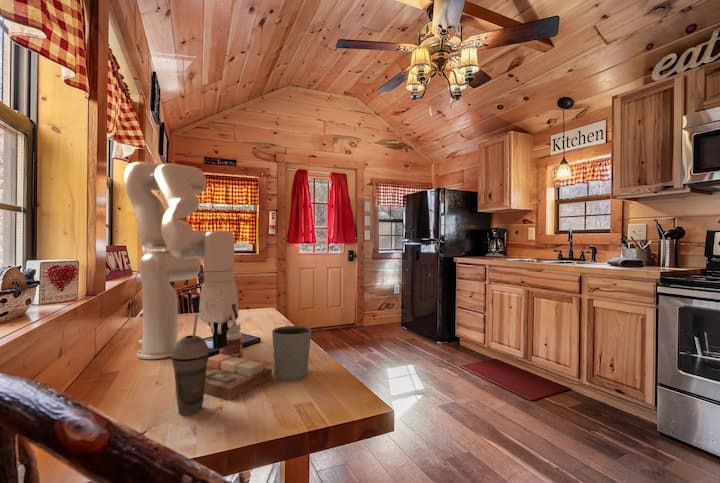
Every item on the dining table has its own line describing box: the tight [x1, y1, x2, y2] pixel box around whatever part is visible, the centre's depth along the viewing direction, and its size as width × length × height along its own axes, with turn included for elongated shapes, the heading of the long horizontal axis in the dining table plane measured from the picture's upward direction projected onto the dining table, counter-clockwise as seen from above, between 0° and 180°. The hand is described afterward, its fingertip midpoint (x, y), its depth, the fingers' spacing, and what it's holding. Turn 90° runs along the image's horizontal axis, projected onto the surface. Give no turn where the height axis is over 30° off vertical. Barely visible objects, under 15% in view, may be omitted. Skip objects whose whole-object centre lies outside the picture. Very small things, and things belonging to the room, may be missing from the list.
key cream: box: [221, 357, 248, 373], centre depth 96 cm, size 4×4×2 cm
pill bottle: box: [219, 321, 243, 359], centre depth 107 cm, size 6×6×11 cm
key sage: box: [237, 360, 264, 377], centre depth 93 cm, size 4×4×2 cm
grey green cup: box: [271, 325, 313, 382], centre depth 98 cm, size 10×10×12 cm
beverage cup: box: [170, 314, 210, 416], centre depth 78 cm, size 7×7×20 cm
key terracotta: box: [206, 353, 232, 369], centre depth 98 cm, size 4×4×2 cm
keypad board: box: [204, 366, 273, 401], centre depth 93 cm, size 18×14×3 cm
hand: (220, 347), depth 98 cm, fingers closed
